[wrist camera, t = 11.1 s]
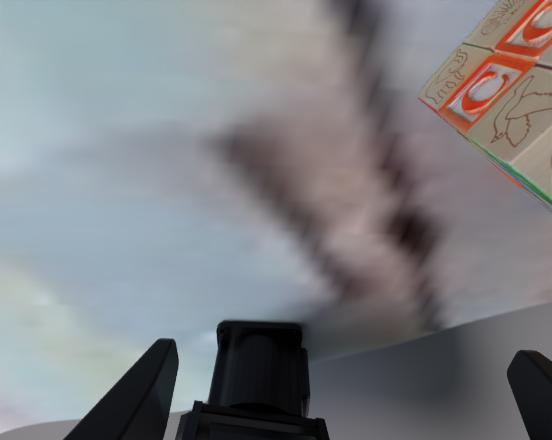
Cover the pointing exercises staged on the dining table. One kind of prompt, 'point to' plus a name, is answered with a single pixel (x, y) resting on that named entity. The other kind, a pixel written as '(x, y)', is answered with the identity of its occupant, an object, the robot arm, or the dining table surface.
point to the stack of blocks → (504, 93)
